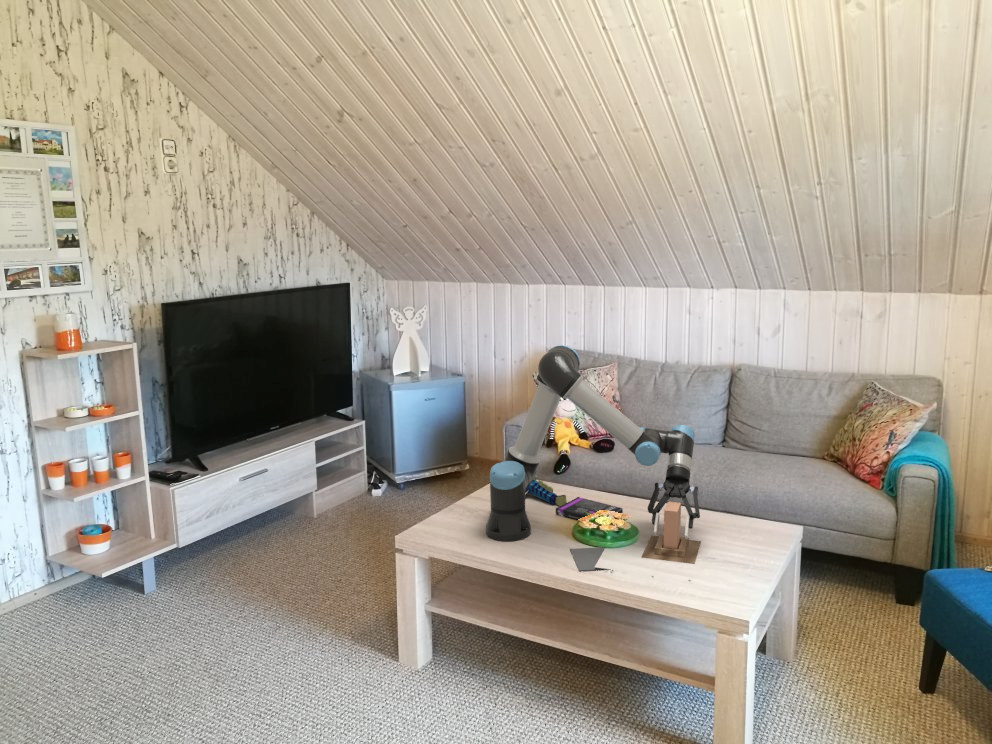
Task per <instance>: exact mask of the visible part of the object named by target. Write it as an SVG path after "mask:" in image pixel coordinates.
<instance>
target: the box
mask: <svg viewBox="0 0 992 744" xmlns="http://www.w3.org/2000/svg"><path fill="white" fill-rule="evenodd" d="M623 509H624V508H622V507H619V506H616V505H611V504H607V503H604V502H599V501H596V500H591V499H587V498H583V497H580V496H577V497H575V498H574V499H572V500H570V501H567V503H566V504H564V505H562V506H558V507H556V508H555V515H556V516H558V517H562V518H566V519H570V520H573V521H577V520H578V519H580V518H582V517H585V516H588V515H590V514H593V513H595V512H597V511H599V510H609V511H615V512H618V513H624V511H623Z"/></svg>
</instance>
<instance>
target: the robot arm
mask: <svg viewBox="0 0 992 744" xmlns="http://www.w3.org/2000/svg"><path fill="white" fill-rule="evenodd" d="M580 364H581V360H580V356H579V354H578V353H577V351H576V350H575V349H574V348H572V347H571V346H568V345H563V344H562V345H561V344H560V345H555V346H553V347H552V348H550V349H549V350H548V351H547V352H546V353H544V355H543V356H542V357H541V358H540V360H539V362H538V365H537V369H538V371H537V372H538V374H537V376H536V382H538V386H537V389H536V391H535V394H534V396H533V398H532V401H531V403H530V405H529V409H528V411H527V413H526V417H525V419H524V422H523V424H522V427H521V429H520V432H519V434H518V437H517V439H516V441H515V444H514V445H513V446H510V447H508V451H507V452H506V455H505V458H504V460H503V461H500V462H497V463H494V465H492V467H491V468H490V471H489V475H488V476H489V490H490V491H489V492H490V495H489V497H490V513H489V516H488V519H487V523H486V527H485V532H486V533H485V534H486V535H488V536H489V538H490V539H493V540H495V541H500V542H502V541H503V542H515V541H519V540H524V539H526V538H528V537H530V535H531V533H532V525H531V523H530V519H529V517H528V514H527V511H526V497H525V491H526V489H527V488H528V486H529V485H530V484H531V483H532V481H533V480H534V478H535V476H537V469H538V467H539V465H540V462H541V458H540V456H539V453H540V450H541V448H542V446H543V442H544V440H545V438H546V436H547V433H548V430H549V428H550V426H551V423H552V420H553V419H554V415H555V413H556V410H557V408H558V405H559V403H560V401H561V398H562V399H568V400H569V401H570V402H571V403H572V404H574V405H575V406H576V407H577V408H578V409H580V410H581V411H582V412H583V413H584V414H586V415H587V416H588V417H589V418H590V419H591V420H593V421H594V422H595V423H596V424H598V425H599V426H600V427H601V428H602V429H603V430H605V431H606V432H607V433H608V434H610V435H611V437H612V438H614V439H616V441H618V442H619V443H620V444H621V445H623V446H624V447H625V448H626V449H627V450H628V451H630V452H631V453H632V454H633V455H634V456H635V459H636V461H637V462H638V464H640V465H642V466H644V467H649V466H650V467H651V466H653V465H655V464H656V463H657V462H658V460H659V458H660V456H661V454H668V457H667V465H666V473H665V474H666V475H665V480H664V482H663V483H659V482H655V483H654V490H653V493H652V495H651V498H650V500H649V503H648V505H647V512H648V513H649V514H651V515H652V517H651V522H652V523H651V524H652V525H654V528H653V536H658V532H659V525H660V524H659V523H660V512H661V510H662V509H663V508H664V506H666V504H667V503H668V501H669V499H671V498H676V499H681V500H682V502H683V504H684V507H685V509H686V512H687V515H686V520H685V528H684V538H685V539H688V538H689V532H690V529H691V530H692V529H693V528H694V527H693V526H694V520H695V519H700V518H701V513H700V506H699V497H698V495H699V487H698V486H697V485H696V486H691V485H690V480H691V471H692V462H693V453H694V446H695V430H694V429H693V428H692V427H691V426H688V425H685V424H679V425H678V424H676V425H674V426H673V427H672V428H671V430H664V429H656V428H650V427H642V426H641V427H640V426H638V425H637V424H635V423H634V422H633V420H631V419H630V418H628V417H627V416H626V415H625V414H623V413H622V412H621V411H620V410H619V409H618V408H617V407H615V406H614V405H613V404H612V403H610V402H609V401H608V400H607V399H606V398H604V397H603V395H601V394H599V392H597V391H596V390H595V389H594V388H593V387H592V386H590V384H588V383H587V382H586V381H584V378H583V375H582V374H581V373H579V370H580V367H581V365H580ZM662 489H664V491H665V492H664V493H663V495H662V496H661V498H660V500H659V501H658V502H657V500H658V497H659V495H660V492H661V491H662ZM690 492H691V494H692V495H693V497H692V498H693V503H694V511H695V512H693V510H692V507H691V505H690V502H689V500H688V497H687V495H686V494H688V493H690ZM656 502H657V504H656ZM488 536H487V537H488Z"/></svg>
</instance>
